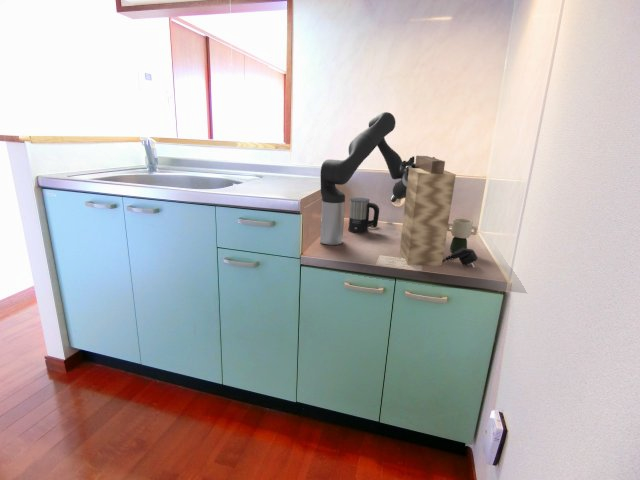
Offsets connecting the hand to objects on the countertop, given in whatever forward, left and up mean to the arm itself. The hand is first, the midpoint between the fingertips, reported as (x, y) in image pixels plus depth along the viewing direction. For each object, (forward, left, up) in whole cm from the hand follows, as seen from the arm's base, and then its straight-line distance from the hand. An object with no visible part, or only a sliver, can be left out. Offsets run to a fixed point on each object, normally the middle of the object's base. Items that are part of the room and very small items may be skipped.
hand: (423, 159), depth 129 cm
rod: (0, -8, -3) cm, 8 cm away
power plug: (+12, -17, -35) cm, 41 cm away
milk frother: (-19, +25, -35) cm, 47 cm away
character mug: (+17, -3, -35) cm, 39 cm away
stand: (0, -12, -35) cm, 37 cm away
